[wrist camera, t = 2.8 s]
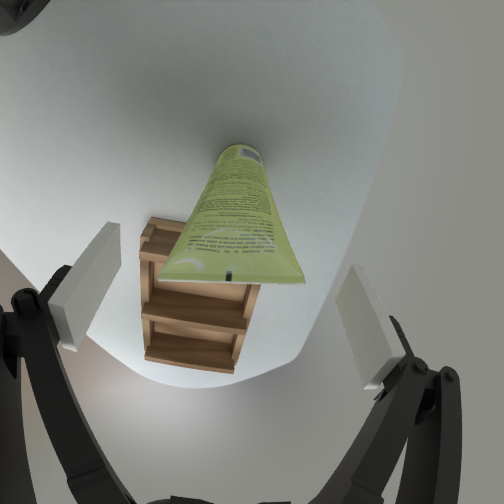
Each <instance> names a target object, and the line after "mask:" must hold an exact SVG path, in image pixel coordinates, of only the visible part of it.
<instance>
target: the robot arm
mask: <svg viewBox="0 0 504 504" xmlns="http://www.w3.org/2000/svg"><path fill="white" fill-rule="evenodd" d="M48 1H49V0H0V36H6V35H10V34H12V33H15V32H17V31H18V30H20V29H22V28H23V27H24V26H26V25H27V24H28V23H29V22H30V21H32V20H33V19H34V18H35V17H36V16H37V15H38V14H39V12H40V11H41V10H42V9H43V8H44V7H45V5H46V4H47V3H48ZM120 266H121V249H120V224H118V223H112V222H107V223H106V224H105V225H104V227H103V228H102V229H101V230H100V232H99V233H98V234H97V235H96V236H95V238H94V239H93V240H92V242H91V243H90V244H89V245H88V247H87V248H86V249H85V251H84V252H83V253H82V255H81V256H80V257H79V259H78V260H77V261H76V263H75V264H74V265H73V266H68V265H64V266H62V267H61V268H59V269H58V270H57V271H56V272H55V273H54V275H53V276H52V279H50V280H49V282H48V284H46V286H45V287H44V288H43V290H42V291H41V293H40V294H39V295H38V293H37V291H36V290H34V289H32V288H24V289H21V290H19V291H17V292H16V293H15V294H14V295H13V297H12V299H11V305H12V307H13V310H14V312H4V310H3V308H2V306H1V305H0V504H37V503H36V498H35V493H34V489H33V484H32V480H31V475H30V470H29V465H28V459H27V452H26V446H25V439H24V438H25V437H24V428H23V418H22V404H21V403H22V401H21V357H24V358H25V363H26V367H27V371H28V374H29V378H30V382H31V385H32V389H33V392H34V396H35V399H36V402H37V405H38V408H39V411H40V414H41V417H42V419H43V422H44V425H45V428H46V430H47V433H48V435H49V438H50V440H51V443H52V445H53V447H54V450H55V452H56V454H57V456H58V458H59V461H60V463H61V465H62V467H63V469H64V471H65V473H66V476H67V483H68V486H69V488H70V491H71V493H72V494H73V496H74V498H75V500H76V501H77V503H78V504H137V503H136V502H135V500H134V499H133V498H132V496H131V495H130V493H129V492H128V490H127V489H126V488H125V487H124V485H123V484H122V482H121V481H120V479H119V478H118V476H117V475H116V473H115V471H114V470H113V468H112V467H111V465H110V463H109V462H108V460H107V458H106V456H105V455H104V453H103V451H102V450H101V447H100V446H99V444H98V442H97V440H96V438H95V436H94V434H93V432H92V430H91V428H90V426H89V424H88V422H87V420H86V418H85V416H84V414H83V412H82V410H81V408H80V405H79V403H78V401H77V398H76V396H75V394H74V391H73V389H72V387H71V384H70V381H69V379H68V376H67V374H66V371H65V368H64V366H63V363H62V360H61V357H60V355H59V352H58V349H57V344H58V342H59V340H60V341H61V344H62V346H63V348H66V349H69V350H73V351H75V352H78V349H79V347H80V345H81V343H82V341H83V338H84V336H85V334H86V332H87V330H88V328H89V326H90V324H91V322H92V320H93V318H94V316H95V314H96V312H97V310H98V308H99V306H100V304H101V302H102V300H103V298H104V296H105V294H106V292H107V290H108V288H109V286H110V285H111V283H112V281H113V279H114V277H115V275H116V274H117V272H118V270H119V268H120ZM335 301H336V304H337V307H338V310H339V313H340V316H341V319H342V322H343V325H344V328H345V331H346V334H347V337H348V340H349V344H350V347H351V350H352V352H353V356H354V359H355V363H356V366H357V369H358V373H359V376H360V379H361V382H362V386H363V389H376V388H377V387H378V386H379V385H380V384H381V383H382V382H383V384H384V387H385V388H384V389H383V390H382V391H381V392H380V393H379V394H378V395H377V396H376V397H375V398H374V400H376V399H377V401H376V403H375V404H374V406H373V408H372V410H371V412H370V414H369V416H368V417H367V419H366V421H365V423H364V425H363V427H362V428H361V430H360V432H359V433H358V435H357V437H356V439H355V440H354V442H353V444H352V445H351V447H350V448H349V450H348V452H347V453H346V455H345V456H344V458H343V460H342V461H341V463H340V464H339V466H338V467H337V469H336V470H335V472H334V473H333V475H332V476H331V477H330V479H329V480H328V482H327V483H326V484H325V486H324V487H323V489H322V490H321V491H320V493H319V494H318V495H317V496H316V497H315V498H314V499H313V500H311V501H310V502H309V503H308V504H383V503H384V499H383V498H382V497H381V494H382V492H383V490H384V488H385V486H386V484H387V482H388V480H389V478H390V476H391V474H392V472H393V470H394V468H395V466H396V464H397V461H398V459H399V457H400V454H401V452H402V450H403V448H404V445H405V443H406V440H407V438H408V442H407V448H406V455H405V461H404V467H403V471H402V477H401V482H400V486H399V491H398V495H397V499H396V503H395V504H457V502H458V494H459V485H460V472H461V458H462V410H461V393H460V382H459V376H458V374H457V373H456V371H455V370H454V369H452V368H451V367H448V366H445V367H443V368H442V369H441V370H440V371H439V372H436V371H433V370H430V369H429V368H428V366H427V364H426V363H425V362H424V361H423V360H422V359H420V358H417V357H414V354H413V352H412V350H411V348H410V345H409V343H408V341H407V339H406V338H405V335H404V333H403V332H402V329H401V327H400V325H399V323H398V322H397V320H396V319H395V318H394V317H393V316H388V314H387V312H386V310H385V308H384V306H383V304H382V302H381V300H380V298H379V296H378V294H377V292H376V290H375V288H374V286H373V284H372V282H371V280H370V278H369V276H368V274H367V273H366V271H365V269H364V267H363V266H360V265H354V264H352V265H351V267H350V269H349V272H348V274H347V276H346V278H345V280H344V282H343V284H342V286H341V289H340V291H339V293H338V295H337V297H336V299H335ZM147 504H213V503H210V502H207V501H204V500H200V499H192V498H184V497H177V496H171V498H170V499H163V500H157V501H153V502H150V503H147ZM259 504H291V502H290V501H289V502H262V503H259Z"/></svg>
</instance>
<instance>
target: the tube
mask: <svg viewBox="0 0 504 504" xmlns="http://www.w3.org/2000/svg"><path fill="white" fill-rule="evenodd" d="M158 281H172V282H200V283H236V284H266V285H305V284H306V282H305V278H304V274H303V272H302V270H301V268H300V266H299V264H298V262H297V260H296V258H295V255H294V253H293V250H292V248H291V246H290V243H289V241H288V238H287V236H286V233H285V230H284V228H283V225H282V222H281V219H280V217H279V214H278V211H277V208H276V205H275V202H274V199H273V196H272V193H271V190H270V187H269V183H268V180H267V176H266V172H265V168H264V164H263V161H262V158H261V156H260V154H259V153H258V152H257V151H256V150H255V149H253V148H252V147H250V146H247V145H241V144H238V145H233V146H230V147H228V148H226V149H225V150H224V151H223V152H222V153H221V155H220V156H219V158H218V160H217V163H216V165H215V167H214V169H213V171H212V174H211V176H210V178H209V180H208V182H207V184H206V186H205V188H204V190H203V192H202V194H201V196H200V198H199V200H198V202H197V204H196V206H195V208H194V210H193V212H192V214H191V216H190V218H189V220H188V222H187V223H186V225H185V227H184V229H183V231H182V233H181V235H180V237H179V239H178V240H177V242H176V244H175V246H174V248H173V249H172V251H171V253H170V255H169V257H168V258H167V260H166V262H165V264H164V265H163V267H162V269H161V270H160V273H159V277H158Z"/></svg>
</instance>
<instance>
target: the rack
mask: <svg viewBox="0 0 504 504" xmlns="http://www.w3.org/2000/svg"><path fill="white" fill-rule="evenodd" d="M185 225H186V223H182V222H176V221H170V220H164V219H158V218H152V217H151V219H150V220H149V222H148V224H147V226H146V227H145V229H144V231H143V233H142V234H141V236H140V251H139V259H140V280H141V307H142V312H141V319H142V324H143V338H144V350H145V351H146V352H145V356H144V357H145V360H148V361H153V362H158V363H163V364H168V365H174V366H180V367H186V368H192V369H199V370H206V371H213V372H221V373H229V374H233V373H234V365H236V364H237V361H238V358H239V355H240V351H241V348H242V345H243V342H244V339H245V335H246V332H247V329H248V326H249V322H250V319H251V316H252V313H253V309H254V306H255V303H256V299H257V296H258V293H259V290H260V286H261V284H236V283H200V282H172V281H158V277H159V273H160V270H161V269H162V267H163V265H164V264H165V262H166V260H167V258H168V257H169V255H170V253H171V251H172V249H173V248H174V246H175V244H176V242H177V240H178V239H179V237H180V235H181V233H182V231H183V229H184V227H185Z"/></svg>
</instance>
